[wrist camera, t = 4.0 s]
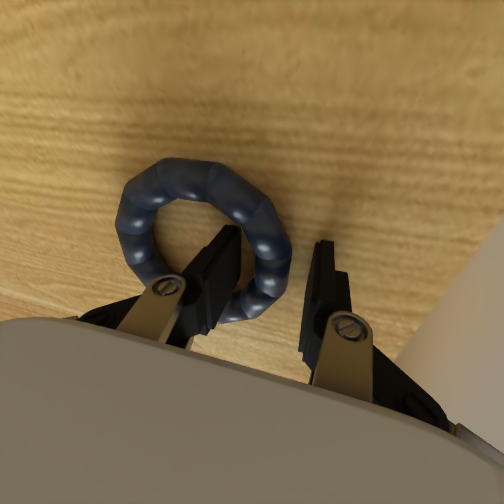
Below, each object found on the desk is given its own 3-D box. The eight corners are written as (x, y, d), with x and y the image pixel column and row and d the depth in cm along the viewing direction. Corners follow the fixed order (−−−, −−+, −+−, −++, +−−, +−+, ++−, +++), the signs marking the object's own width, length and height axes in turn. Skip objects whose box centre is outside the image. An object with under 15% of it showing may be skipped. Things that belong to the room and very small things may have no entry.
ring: (306, 167, 9) (302, 178, 8) (281, 322, 14) (277, 344, 13) (112, 147, 11) (82, 153, 10) (150, 290, 16) (134, 308, 14)
